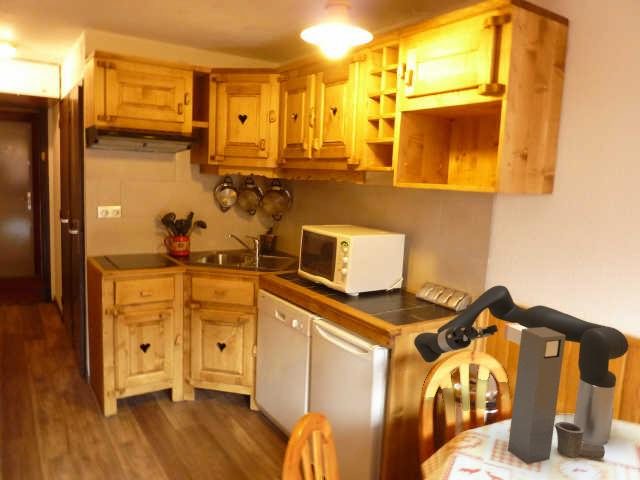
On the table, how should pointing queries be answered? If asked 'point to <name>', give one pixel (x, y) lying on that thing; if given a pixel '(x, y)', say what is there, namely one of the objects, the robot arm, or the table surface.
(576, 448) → the pipe
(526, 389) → the grey tall rectangular block
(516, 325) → the block
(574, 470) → the table surface
